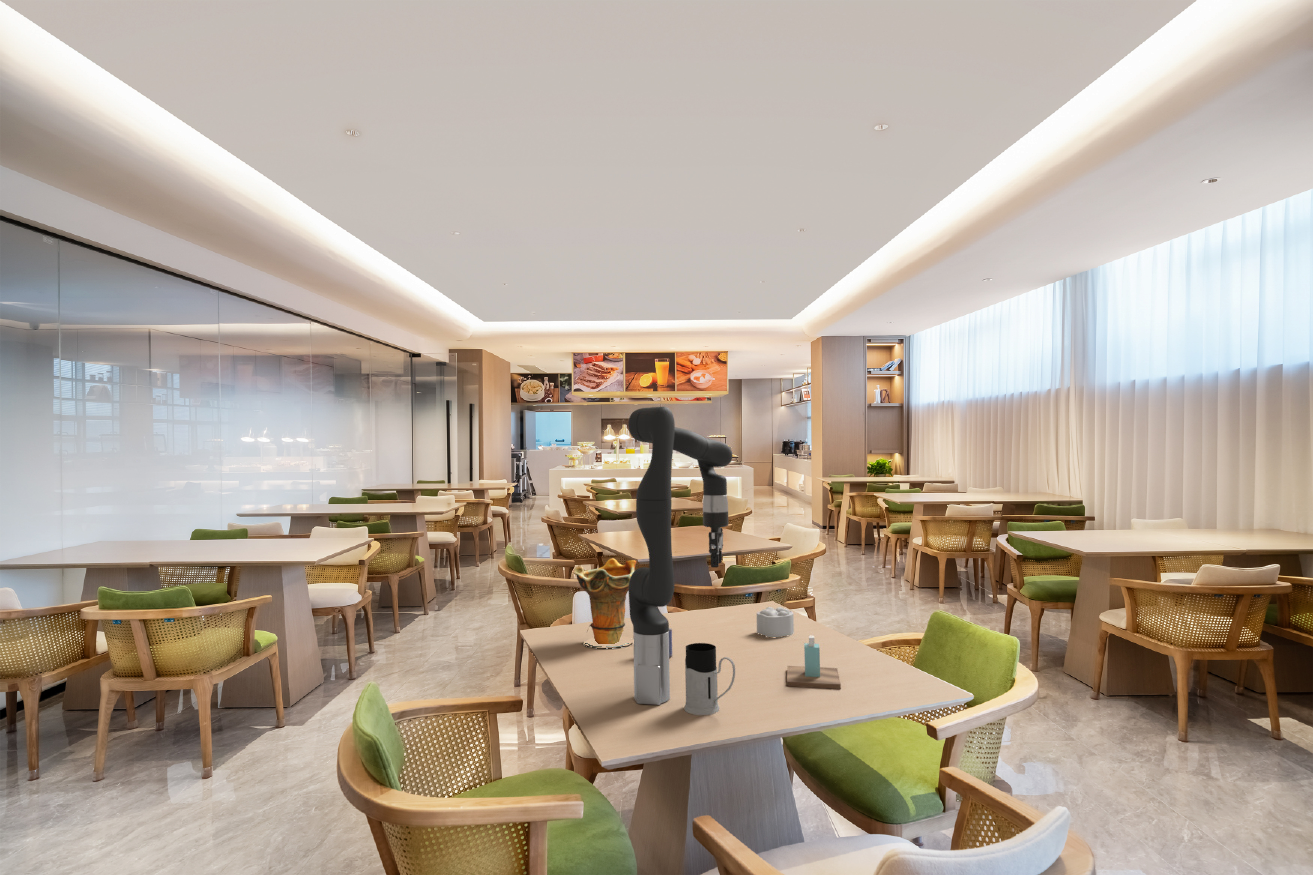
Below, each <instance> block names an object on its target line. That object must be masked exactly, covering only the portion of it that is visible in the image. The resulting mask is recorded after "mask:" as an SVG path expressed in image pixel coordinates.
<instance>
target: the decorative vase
mask: <svg viewBox="0 0 1313 875" xmlns="http://www.w3.org/2000/svg"><path fill="white" fill-rule="evenodd" d="M636 565H637V560H633V559H630V560H626V561H625V564H621V563H619V562H618V560H617V559H615V558H613V557H612V558H609V559H608V560H607V561H606V562H605V564H604V565H603V566H601V567H599V568H592V569H587V570H584V567H583V566H576V567H575V568H574V570H573V574H574V575H575V576H576V579H577V581H578V584H579V586H580V587H581V589H583V591H585V593H586V594H587V595H588V596H589V597H588V598H589V604H590V613H591V619H592V622H591V623H590V624H589V626H588V628H589V627H591V629H592V633H593V636H594V639H595V641H596V642H597V643H598V644H615V643H617V642H619V641H620V638H621V636H622V634H623V632H624V630H625V629H624V627H625V626H626V623H625V617H626V600H627V594H628V593H629V581H630V578H631V575H632V574H633V572H634V571H635V570H636ZM588 630H589V629H587V631H586V632H588ZM585 644H588V643H585ZM625 644H629V643H625ZM625 644H623V645H625ZM588 645H589V646H592V647H602V646H593V645H590V644H588ZM623 645H620V646H613V647H621V646H623ZM592 647H591V648H592ZM606 647H612V646H606ZM621 648H622V647H621Z"/></svg>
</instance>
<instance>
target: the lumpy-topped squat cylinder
mask: <svg viewBox="0 0 1313 875" xmlns="http://www.w3.org/2000/svg"><path fill="white" fill-rule="evenodd" d="M794 627H795V624H794V612H793V611H792V610H790V609H788V608H784V607H781V606H779V607H776V608H774V607H772V606H768V607H766V608H765V609H762V610H760V611H757V612H756V634H757V633H759V634H762V635H765V636H767V637H781V636H787V635H791V636H793V635H794V634H795V633H794V632H795V628H794ZM793 633H794V634H793ZM759 634H758V635H759ZM792 634H793V635H792ZM762 635H761V636H762ZM767 637H766V638H767ZM787 637H788V636H787ZM781 638H782V637H781Z"/></svg>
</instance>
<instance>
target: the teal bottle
mask: <svg viewBox="0 0 1313 875" xmlns="http://www.w3.org/2000/svg"><path fill="white" fill-rule="evenodd" d="M803 643H804V642H803ZM803 648H804V656H803V657H804V667H805V677H820V667H821V659H820V657H821V656H820V654H821V653H820V643H815V635H808V643H807V642H805V643H804V644H803Z"/></svg>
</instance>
